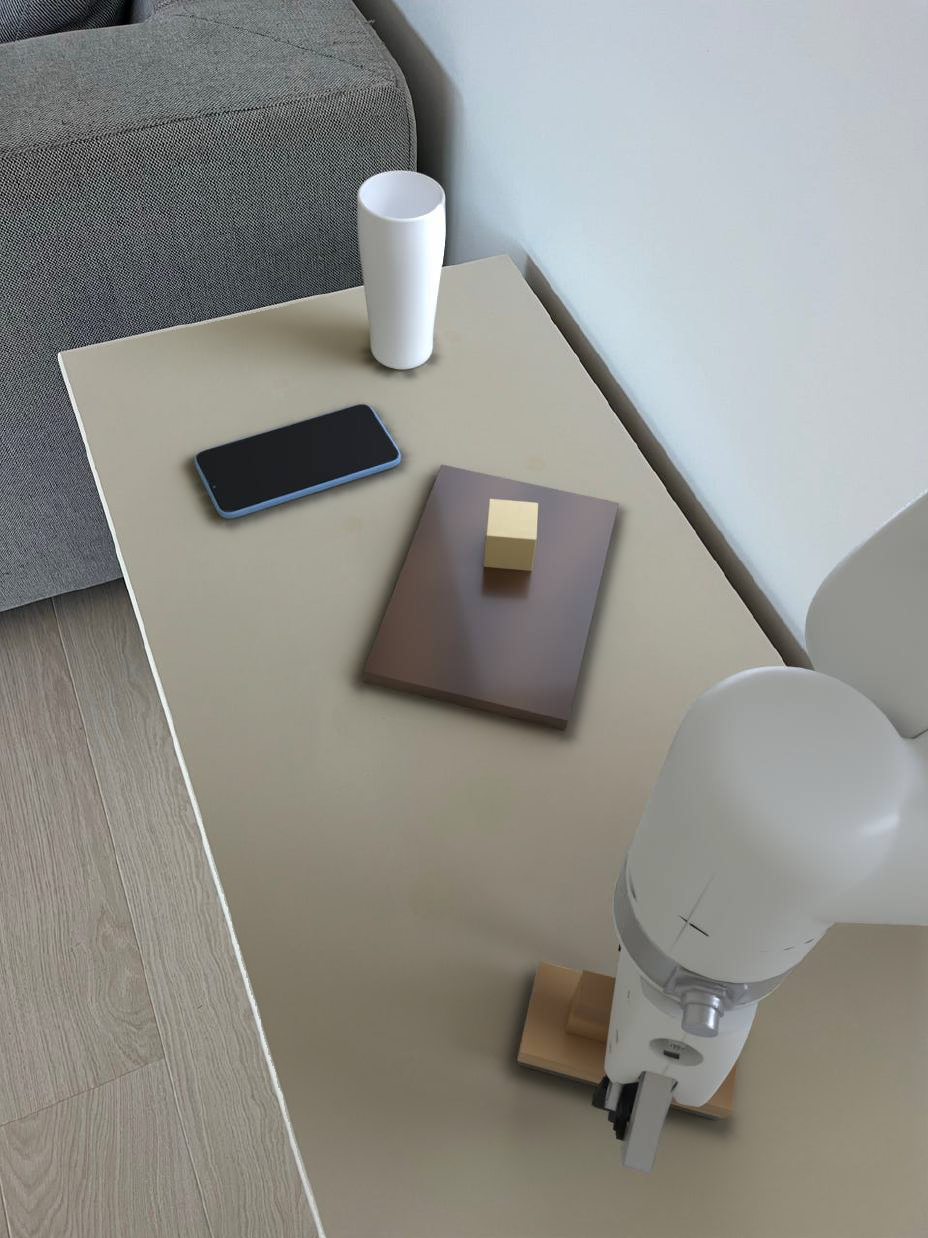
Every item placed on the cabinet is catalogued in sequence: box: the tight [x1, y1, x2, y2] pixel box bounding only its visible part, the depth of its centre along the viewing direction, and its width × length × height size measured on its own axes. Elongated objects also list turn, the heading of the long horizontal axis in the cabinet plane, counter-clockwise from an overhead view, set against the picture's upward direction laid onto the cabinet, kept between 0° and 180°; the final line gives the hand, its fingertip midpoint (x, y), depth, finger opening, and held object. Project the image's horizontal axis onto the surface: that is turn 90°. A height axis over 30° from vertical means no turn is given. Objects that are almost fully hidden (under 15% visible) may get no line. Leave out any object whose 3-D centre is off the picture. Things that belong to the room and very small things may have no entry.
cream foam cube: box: [484, 499, 538, 571], centre depth 77 cm, size 4×4×4 cm
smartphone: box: [194, 403, 402, 519], centre depth 84 cm, size 7×1×15 cm
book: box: [363, 464, 620, 731], centre depth 77 cm, size 14×20×1 cm
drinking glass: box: [356, 169, 446, 370], centre depth 87 cm, size 7×7×15 cm
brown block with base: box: [516, 960, 739, 1121], centre depth 56 cm, size 5×11×8 cm, turn 76°
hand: (635, 1028), depth 56 cm, fingers open, 7 cm apart
